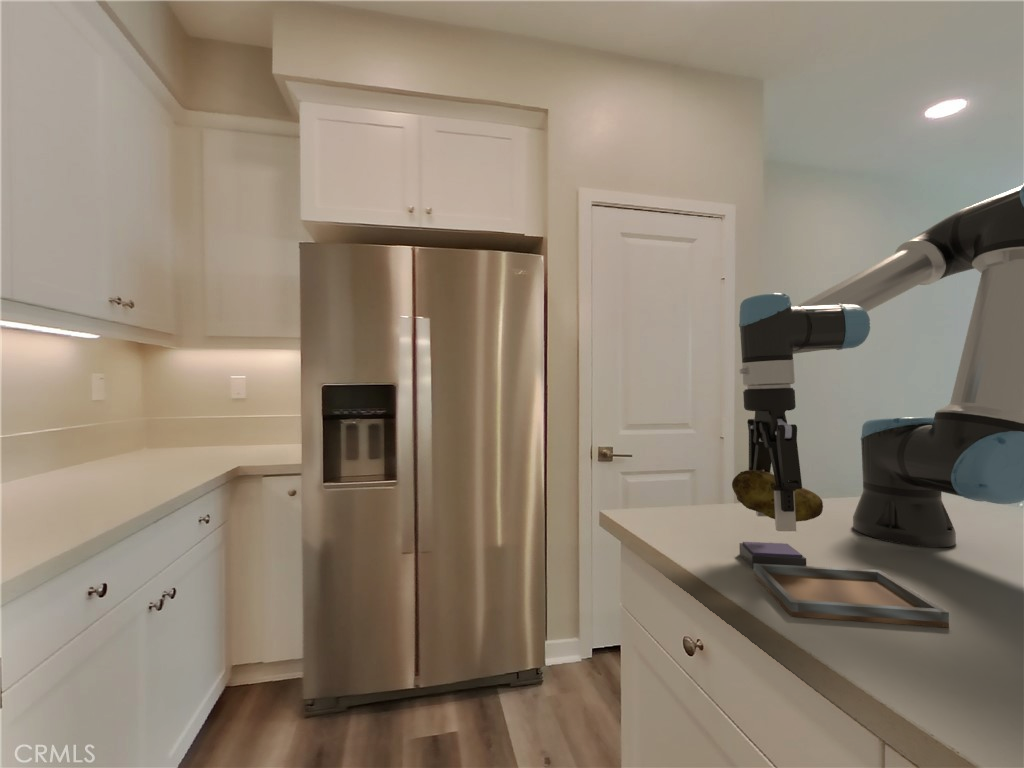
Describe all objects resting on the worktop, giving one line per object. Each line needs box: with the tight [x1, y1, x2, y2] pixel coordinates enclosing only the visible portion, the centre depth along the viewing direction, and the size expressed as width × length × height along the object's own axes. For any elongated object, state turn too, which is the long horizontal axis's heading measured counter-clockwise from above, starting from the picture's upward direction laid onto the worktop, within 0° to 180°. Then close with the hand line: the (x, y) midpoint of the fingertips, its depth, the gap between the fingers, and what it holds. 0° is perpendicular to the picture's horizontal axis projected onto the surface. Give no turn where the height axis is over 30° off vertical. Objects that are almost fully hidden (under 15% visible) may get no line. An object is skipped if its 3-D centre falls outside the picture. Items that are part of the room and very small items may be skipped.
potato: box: [731, 469, 824, 523], centre depth 73 cm, size 8×13×8 cm, turn 55°
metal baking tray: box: [753, 563, 950, 628], centre depth 60 cm, size 18×13×2 cm
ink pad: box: [739, 541, 807, 569], centre depth 73 cm, size 8×6×2 cm
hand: (775, 522), depth 73 cm, fingers closed on potato, 7 cm apart
